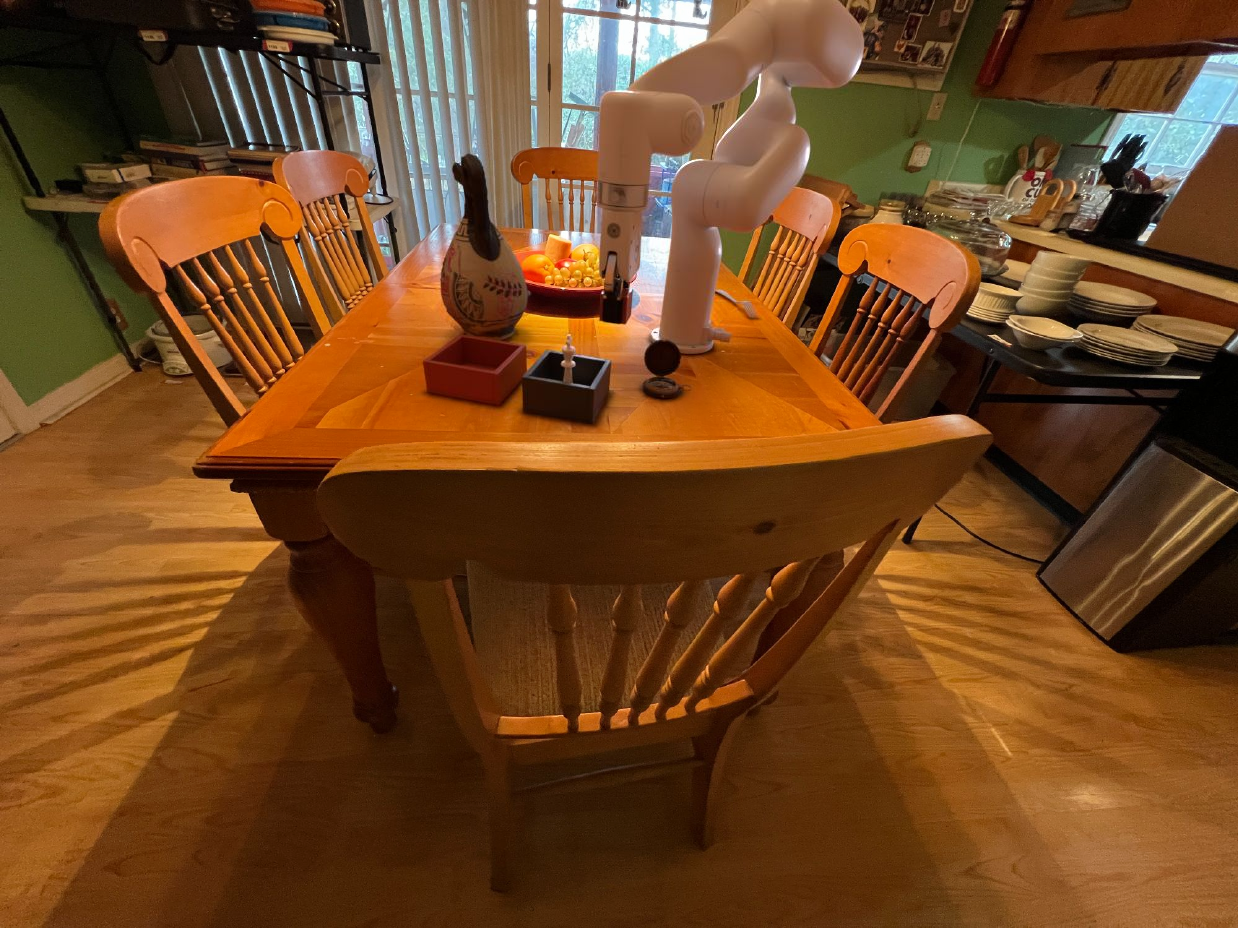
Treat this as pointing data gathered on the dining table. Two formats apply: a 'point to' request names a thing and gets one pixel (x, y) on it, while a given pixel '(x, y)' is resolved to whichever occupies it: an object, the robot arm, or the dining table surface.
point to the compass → (662, 369)
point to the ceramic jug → (481, 265)
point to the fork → (739, 302)
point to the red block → (627, 304)
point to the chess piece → (568, 360)
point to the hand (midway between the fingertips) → (615, 316)
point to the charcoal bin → (566, 387)
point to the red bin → (476, 369)
